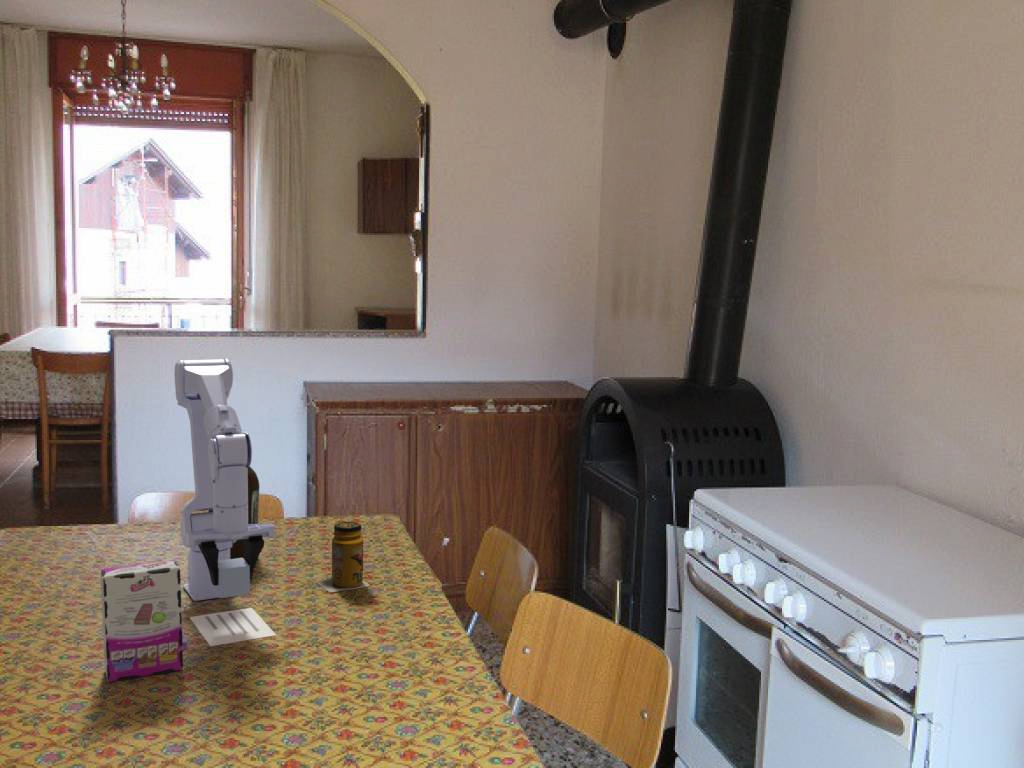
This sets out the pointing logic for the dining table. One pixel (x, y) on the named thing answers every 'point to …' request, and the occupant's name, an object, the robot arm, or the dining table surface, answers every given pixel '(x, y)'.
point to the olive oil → (253, 505)
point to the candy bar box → (142, 620)
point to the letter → (232, 626)
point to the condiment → (346, 559)
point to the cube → (233, 578)
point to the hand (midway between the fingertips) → (231, 581)
